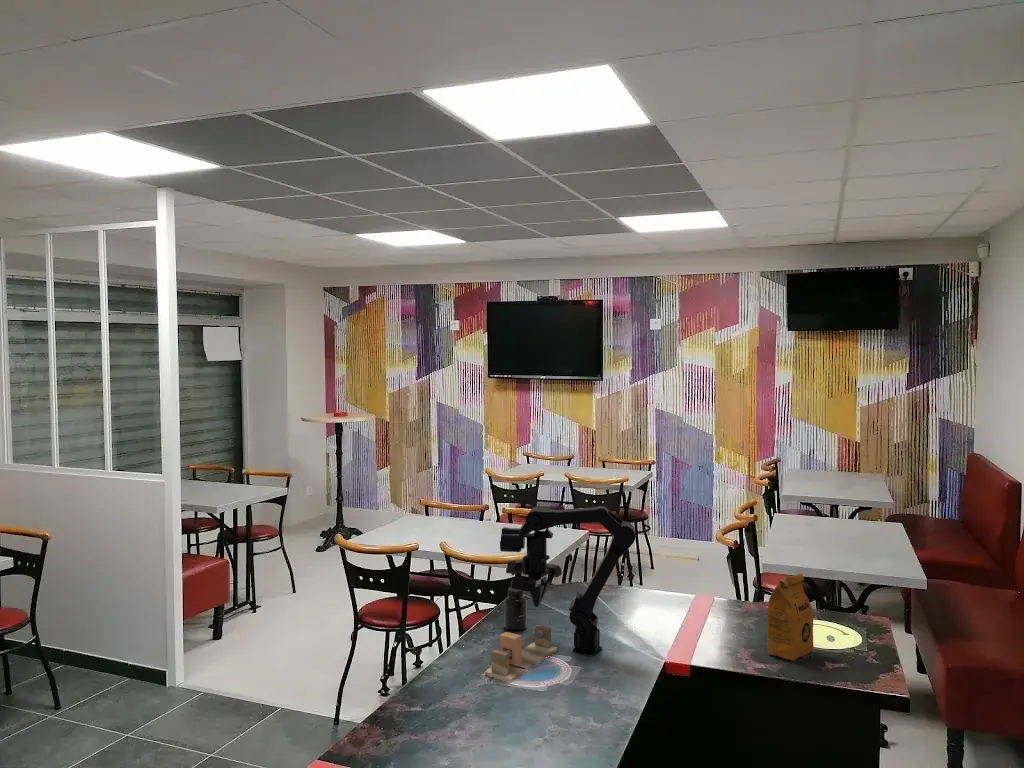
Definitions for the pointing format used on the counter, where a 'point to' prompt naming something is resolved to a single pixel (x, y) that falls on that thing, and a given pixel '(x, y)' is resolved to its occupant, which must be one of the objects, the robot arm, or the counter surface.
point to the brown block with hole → (512, 646)
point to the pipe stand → (532, 654)
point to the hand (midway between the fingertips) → (536, 606)
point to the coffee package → (789, 620)
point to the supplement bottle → (515, 610)
